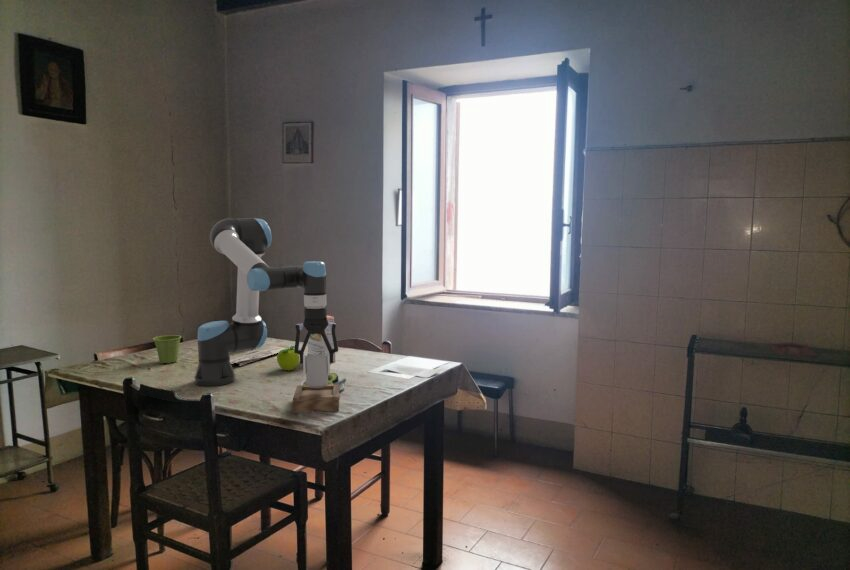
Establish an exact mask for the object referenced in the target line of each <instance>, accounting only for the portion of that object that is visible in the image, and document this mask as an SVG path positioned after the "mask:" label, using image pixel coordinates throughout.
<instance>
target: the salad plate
mask: <svg viewBox="0 0 850 570" xmlns="http://www.w3.org/2000/svg"><path fill="white" fill-rule="evenodd" d="M346 382H347V379H345V378H344V379H340V378H339V376H338V373H335V372H330V373H328V384H327V385H331V384H340V392H341V391H342V390H344V389H345V383H346ZM300 385H306V380H304V381H301V382H300V384H299V386H300Z"/></svg>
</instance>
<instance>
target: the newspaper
mask: <svg viewBox="0 0 850 570" xmlns="http://www.w3.org/2000/svg"><path fill="white" fill-rule="evenodd" d="M284 349H287V348H286V347H280V346H275V345H274V346H268V347H264V348H262V349H259V350H256V351H252V352H249V353H247V354H244V355H243V354H242V355H240V356H237V357H233V358H230V362H232V363H236V364H237V365H238V366H240V367H243V366H245V364H246V365H248V364H247V363H249V364H251V363H250V362H252V363H254V362H256V361H260V360H264V359H265V357H266V358H269V357H272V356H274V354H275V355H278V354H277V353H279V352H280V351H281V350H284ZM271 355H272V356H271ZM268 356H269V357H268ZM242 365H243V366H242Z"/></svg>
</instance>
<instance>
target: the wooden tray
mask: <svg viewBox="0 0 850 570" xmlns="http://www.w3.org/2000/svg"><path fill="white" fill-rule="evenodd" d="M340 392H341V391H340V384H331V385H326V386H325V387H322V388H310V387H309V386H308V385H300V384H299V385H296V388H295V390H294V394H293V398H292V410H293V411H292V413H293V414H295V413H294V412H300V413H317V412H316V411H327V412H339V411H340V401H339V400H340V398H341V396H340V394H341V393H340ZM312 411H314V412H312Z"/></svg>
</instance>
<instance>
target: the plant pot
mask: <svg viewBox="0 0 850 570" xmlns="http://www.w3.org/2000/svg"><path fill="white" fill-rule="evenodd" d="M181 339H182V335H176V334H175V335H174V334H171V335H160V336H155V337H152V340H153V341H154V345H155V348H156V353H157V356H158V360H159V363H160V362H161V363H160V364H163V363H166V364H172V363H171V362H175V361H178V356H179V348H180V343H181ZM175 363H176V362H175Z"/></svg>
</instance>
